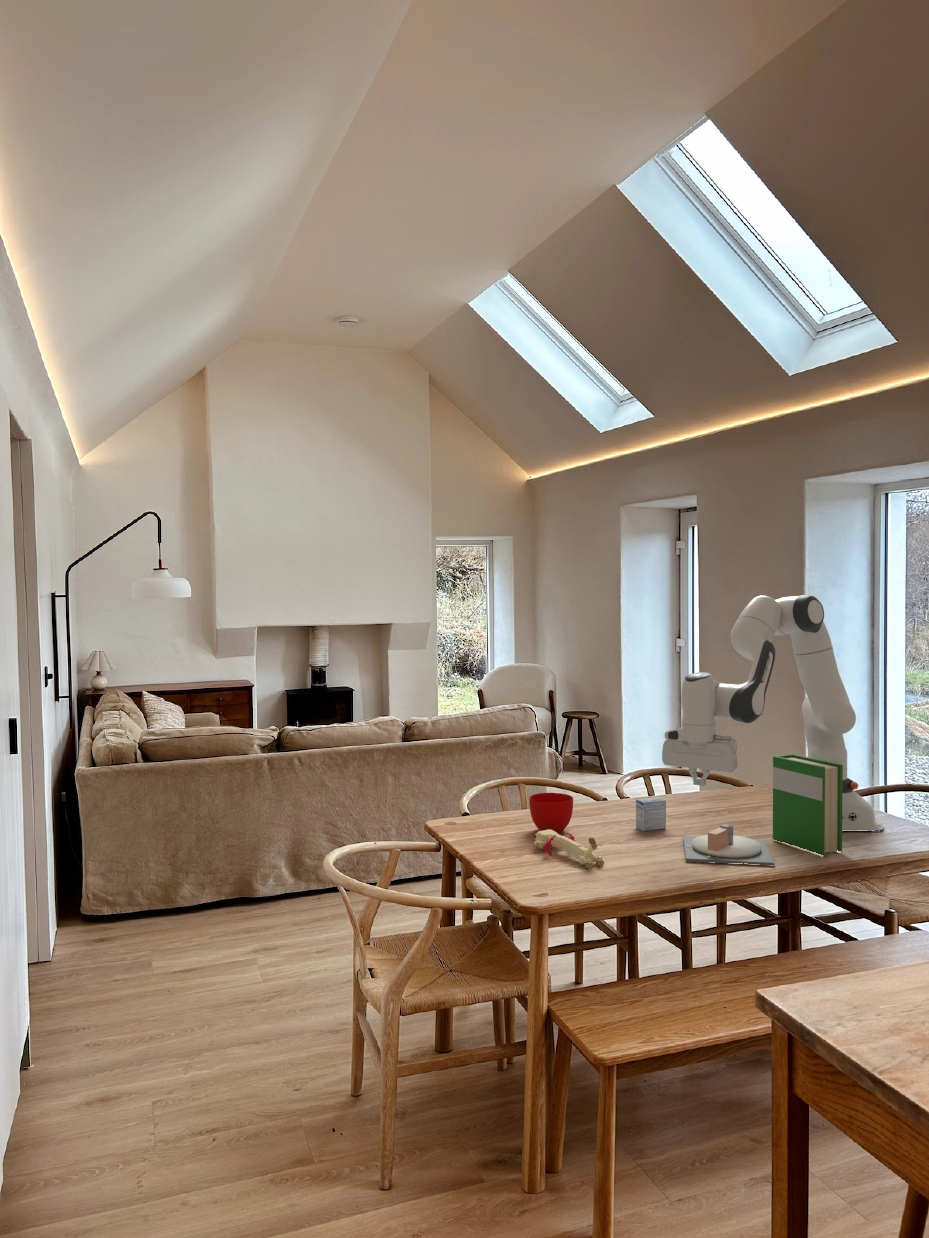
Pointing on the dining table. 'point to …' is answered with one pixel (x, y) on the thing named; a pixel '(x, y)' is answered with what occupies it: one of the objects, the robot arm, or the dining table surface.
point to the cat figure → (568, 847)
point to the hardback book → (807, 803)
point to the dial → (726, 843)
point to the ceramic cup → (551, 811)
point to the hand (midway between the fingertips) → (699, 784)
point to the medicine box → (650, 814)
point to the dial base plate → (696, 856)
